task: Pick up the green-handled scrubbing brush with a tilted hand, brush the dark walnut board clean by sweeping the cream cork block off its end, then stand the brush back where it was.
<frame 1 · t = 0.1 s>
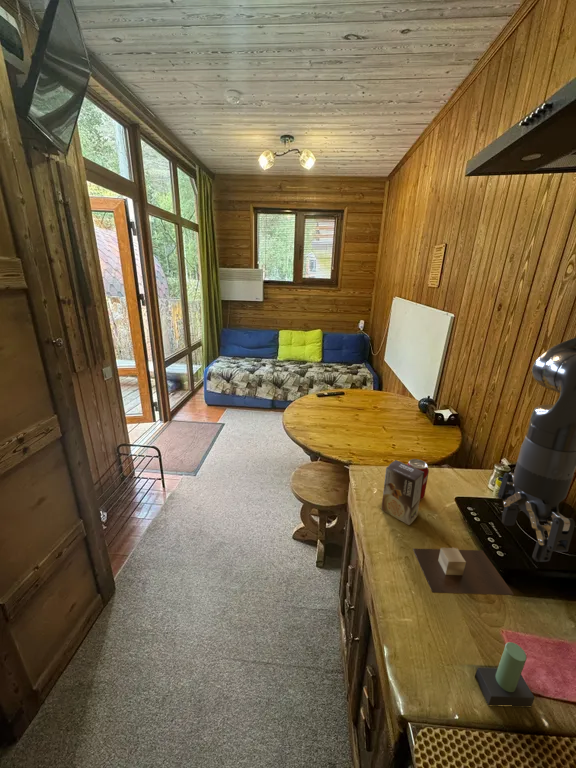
hand: (522, 540, 58), 21 cm above the kitchen counter, tool pointing down, fingers open, 8 cm apart
brush: (501, 691, 52), on the kitchen counter
coffee box: (398, 516, 93), on the kitchen counter
board: (458, 574, 74), on the kitchen counter
beige cube: (450, 567, 74), point 1 cm above the kitchen counter, touching board
soda can: (412, 495, 102), on the kitchen counter
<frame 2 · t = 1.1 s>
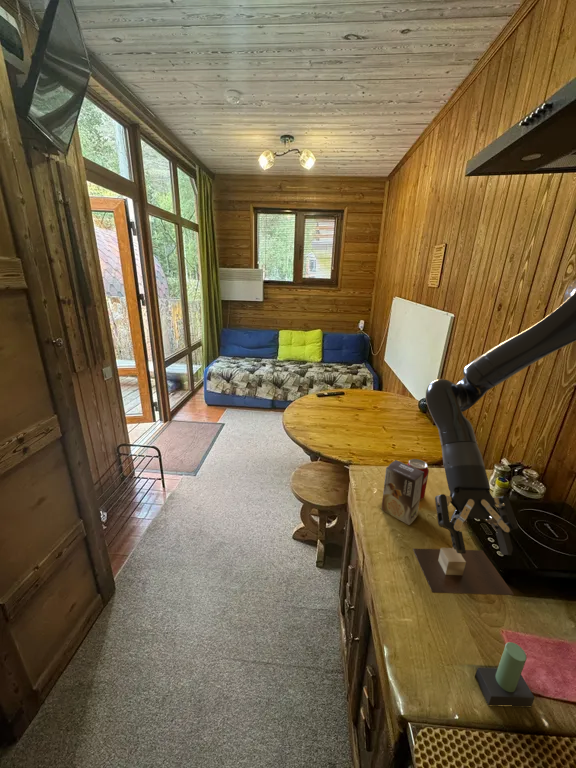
hand: (484, 554, 58), 18 cm above the kitchen counter, tool tilted 45°, fingers open, 8 cm apart
nothing on the kitchen counter moved.
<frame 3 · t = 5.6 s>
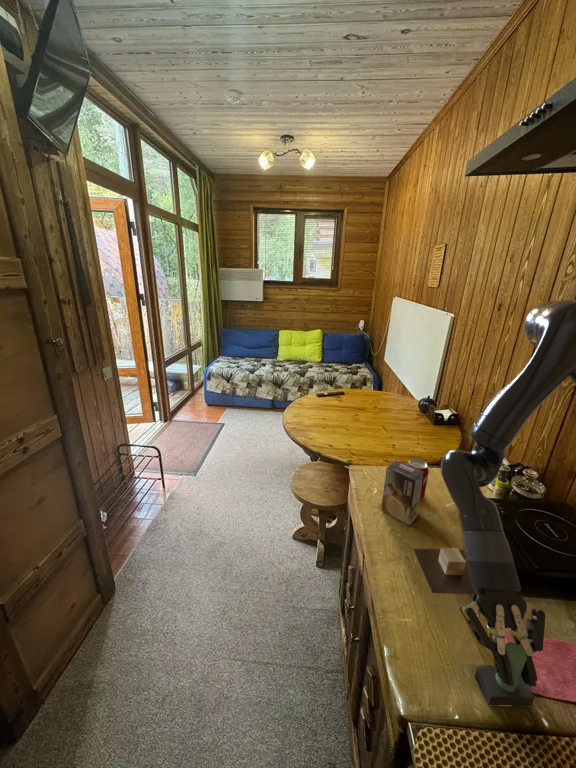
hand: (518, 683, 49), 6 cm above the kitchen counter, tool tilted 45°, fingers closed on brush, 3 cm apart
brush: (501, 691, 52), on the kitchen counter, touching gripper
everything else where it was.
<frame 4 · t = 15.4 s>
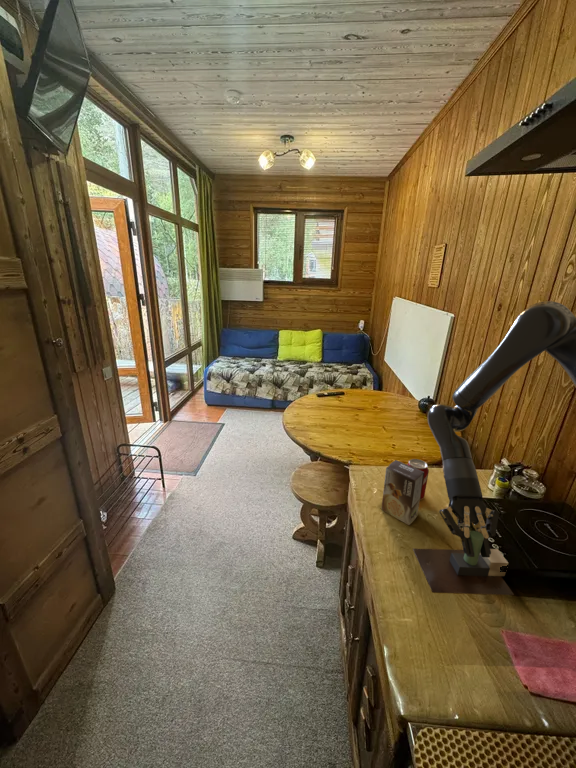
hand: (478, 556, 70), 7 cm above the kitchen counter, tool tilted 45°, fingers closed on brush, 3 cm apart
brush: (468, 568, 74), point 2 cm above the kitchen counter, touching gripper
beige cube: (490, 568, 74), point 1 cm above the kitchen counter, touching board
everything else where it was.
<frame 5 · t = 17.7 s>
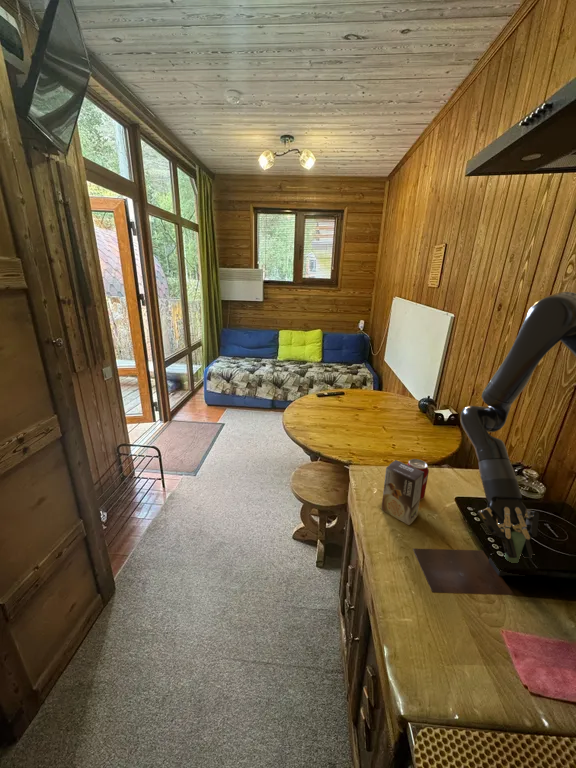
hand: (520, 557, 70), 7 cm above the kitchen counter, tool tilted 45°, fingers closed on brush, 3 cm apart
brush: (508, 569, 74), point 2 cm above the kitchen counter, touching beige cube, gripper
beige cube: (529, 574, 74), on the kitchen counter, touching brush
everything else where it was.
when the fingers open (6 cm above the kitchen counter, at t = 25.8 s): brush stays where it is, on the kitchen counter.
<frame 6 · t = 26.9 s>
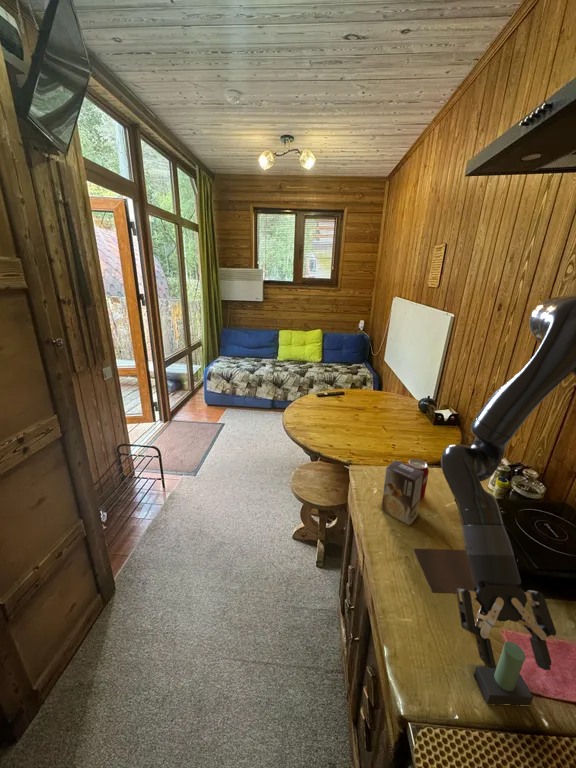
hand: (517, 667, 49), 8 cm above the kitchen counter, tool tilted 45°, fingers open, 8 cm apart
brush: (500, 690, 52), on the kitchen counter
beige cube: (529, 574, 74), on the kitchen counter
everything else where it was.
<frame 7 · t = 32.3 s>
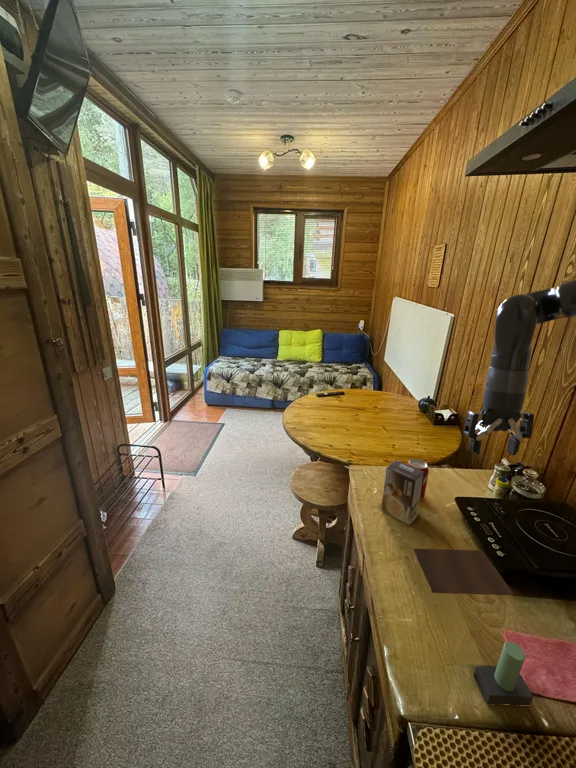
hand: (493, 453, 73), 28 cm above the kitchen counter, tool pointing down, fingers open, 8 cm apart
nothing on the kitchen counter moved.
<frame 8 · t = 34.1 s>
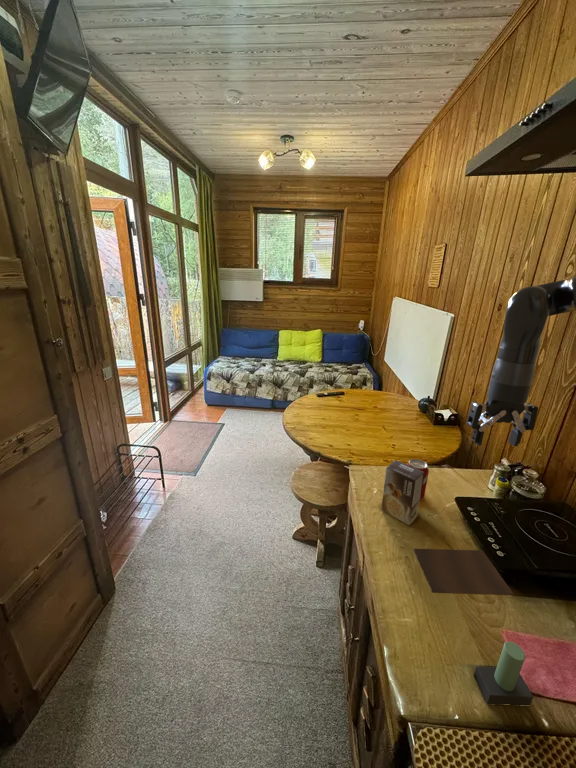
hand: (494, 444, 74), 30 cm above the kitchen counter, tool pointing down, fingers open, 8 cm apart
nothing on the kitchen counter moved.
at the end: beige cube on the kitchen counter; beige cube moved 19.5 cm from its start; brush tilted 0° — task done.
